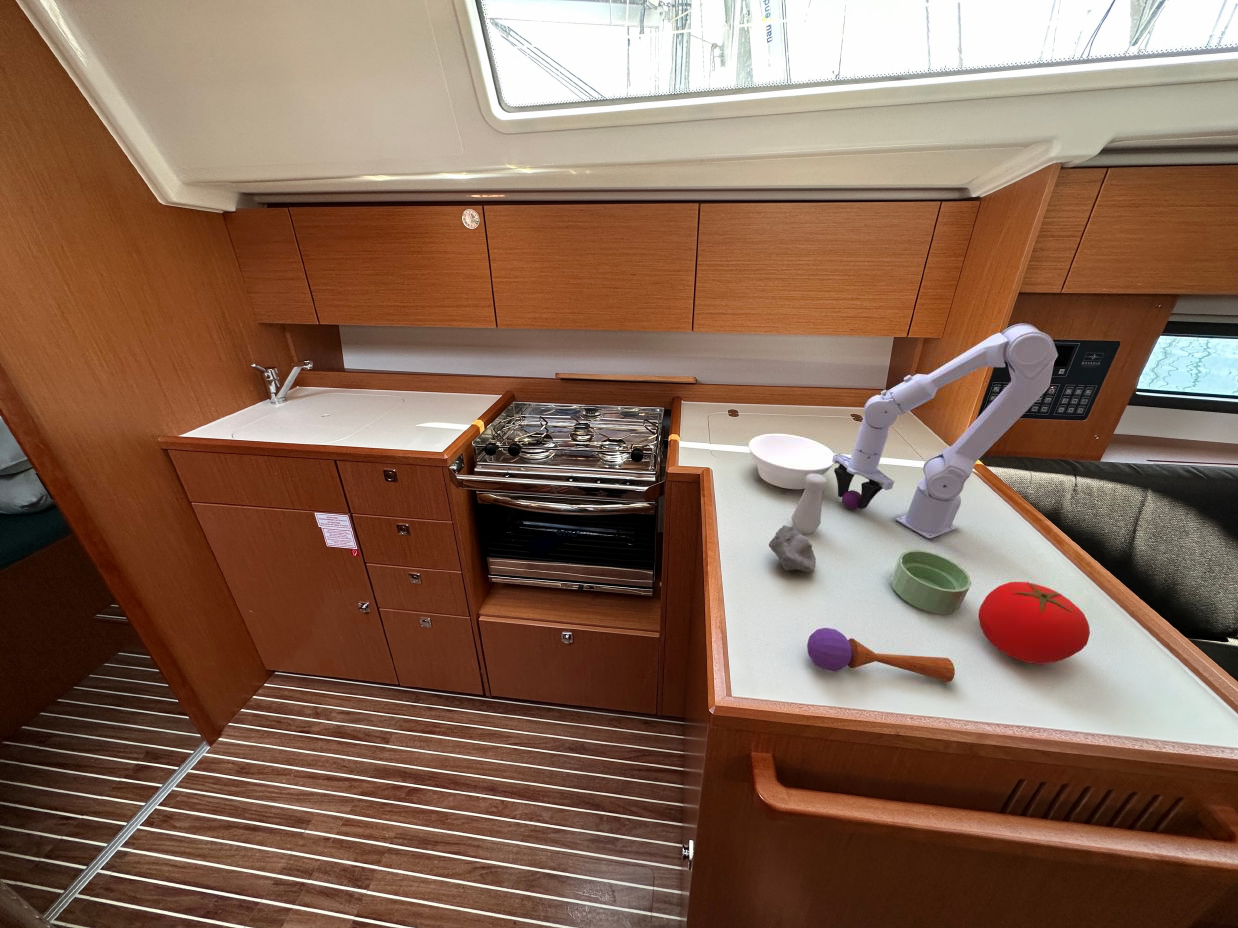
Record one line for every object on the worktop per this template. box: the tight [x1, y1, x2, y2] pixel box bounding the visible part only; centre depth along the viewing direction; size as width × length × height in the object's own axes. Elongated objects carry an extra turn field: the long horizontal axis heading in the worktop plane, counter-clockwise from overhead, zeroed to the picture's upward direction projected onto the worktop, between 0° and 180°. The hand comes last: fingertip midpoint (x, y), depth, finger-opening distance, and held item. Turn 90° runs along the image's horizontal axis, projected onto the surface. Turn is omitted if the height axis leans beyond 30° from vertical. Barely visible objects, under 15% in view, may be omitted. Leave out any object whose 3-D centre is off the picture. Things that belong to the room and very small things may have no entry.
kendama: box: [806, 627, 956, 683], centre depth 69 cm, size 6×6×20 cm
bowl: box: [748, 433, 835, 490], centre depth 120 cm, size 21×21×8 cm
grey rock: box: [768, 524, 817, 573], centre depth 89 cm, size 11×9×8 cm
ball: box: [841, 489, 861, 510], centre depth 109 cm, size 4×4×4 cm
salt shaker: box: [791, 473, 828, 535], centre depth 99 cm, size 6×6×13 cm
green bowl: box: [890, 549, 972, 615], centre depth 84 cm, size 11×11×6 cm
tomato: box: [978, 581, 1091, 665], centre depth 72 cm, size 12×13×11 cm
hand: (851, 501), depth 110 cm, fingers open, 5 cm apart
